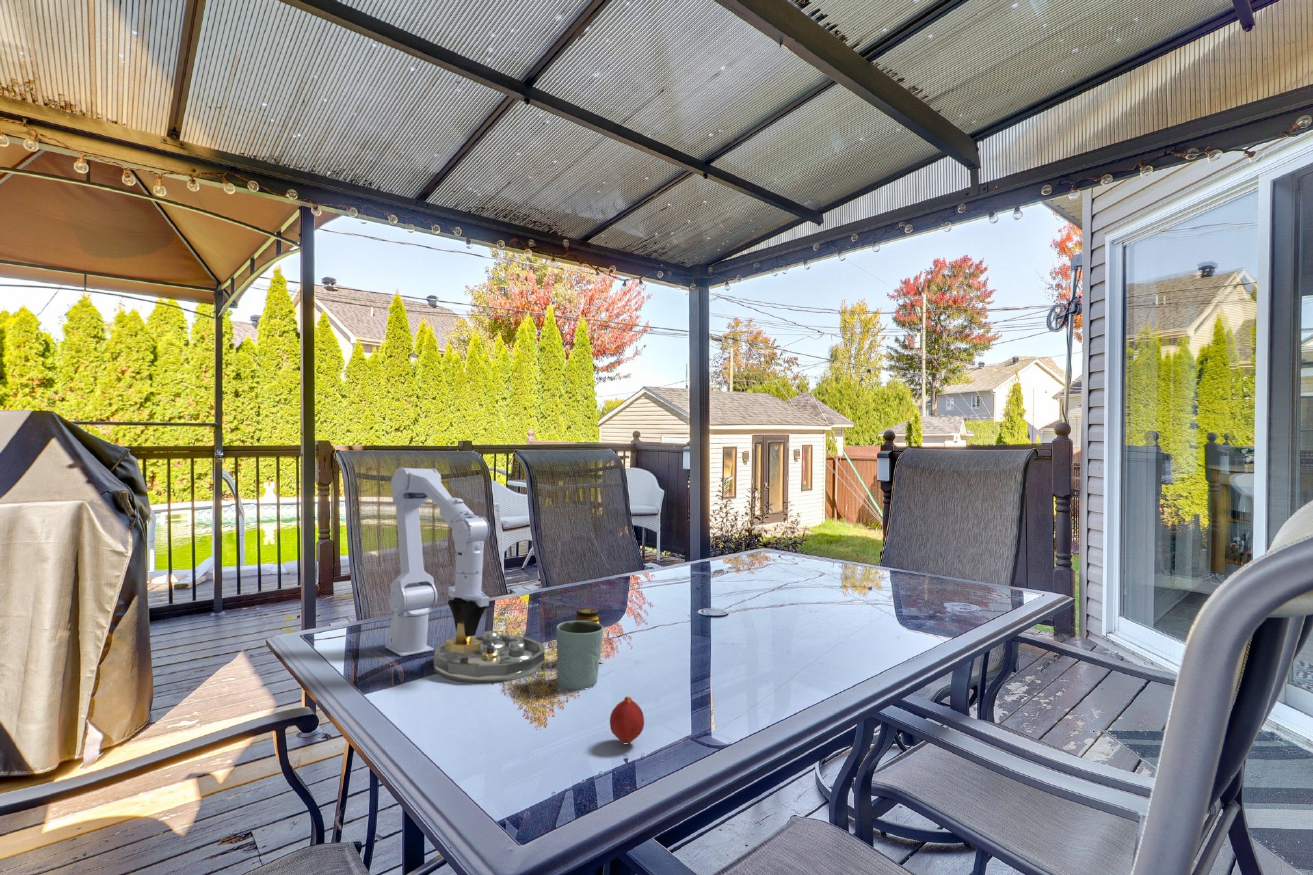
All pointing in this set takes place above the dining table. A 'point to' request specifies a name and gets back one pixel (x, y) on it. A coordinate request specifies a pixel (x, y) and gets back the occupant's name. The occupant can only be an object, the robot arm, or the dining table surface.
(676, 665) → the dining table surface
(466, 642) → the brass octagonal knob
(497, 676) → the tray
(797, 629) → the dining table surface
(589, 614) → the condiment
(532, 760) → the dining table surface
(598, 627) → the green cup
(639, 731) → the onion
